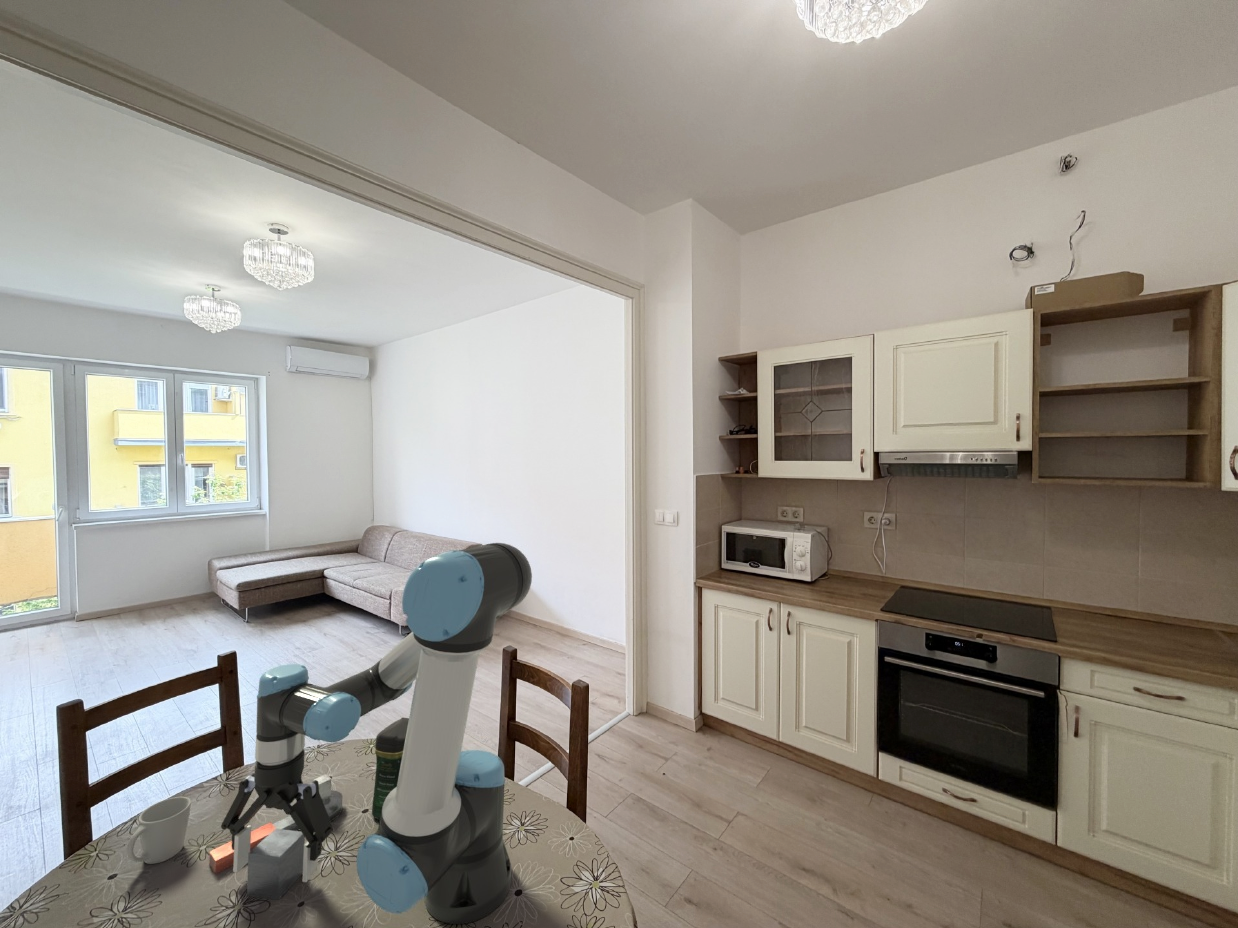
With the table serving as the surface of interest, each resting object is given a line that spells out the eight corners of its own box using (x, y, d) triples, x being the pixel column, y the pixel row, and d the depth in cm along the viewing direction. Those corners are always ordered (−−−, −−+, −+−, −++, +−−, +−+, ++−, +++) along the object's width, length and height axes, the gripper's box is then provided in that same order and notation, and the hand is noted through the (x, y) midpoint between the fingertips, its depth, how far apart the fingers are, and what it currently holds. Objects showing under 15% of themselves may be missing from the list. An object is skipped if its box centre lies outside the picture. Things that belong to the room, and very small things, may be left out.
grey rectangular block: (303, 872, 92) (304, 831, 93) (278, 899, 86) (279, 856, 87) (274, 868, 93) (275, 828, 93) (246, 895, 87) (248, 852, 87)
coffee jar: (397, 826, 105) (400, 738, 105) (365, 820, 106) (368, 733, 107) (424, 797, 114) (427, 716, 114) (394, 791, 116) (397, 712, 116)
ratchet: (332, 796, 114) (333, 763, 114) (348, 811, 109) (349, 777, 109) (205, 858, 95) (206, 819, 95) (219, 879, 90) (220, 838, 90)
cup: (199, 841, 99) (201, 798, 99) (145, 882, 89) (147, 834, 90) (167, 836, 100) (169, 794, 101) (110, 875, 91) (112, 829, 91)
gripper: (357, 749, 92) (352, 863, 92) (236, 736, 95) (231, 846, 95) (329, 773, 85) (324, 897, 85) (199, 758, 88) (194, 878, 88)
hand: (275, 870), depth 90 cm, fingers open, 13 cm apart
